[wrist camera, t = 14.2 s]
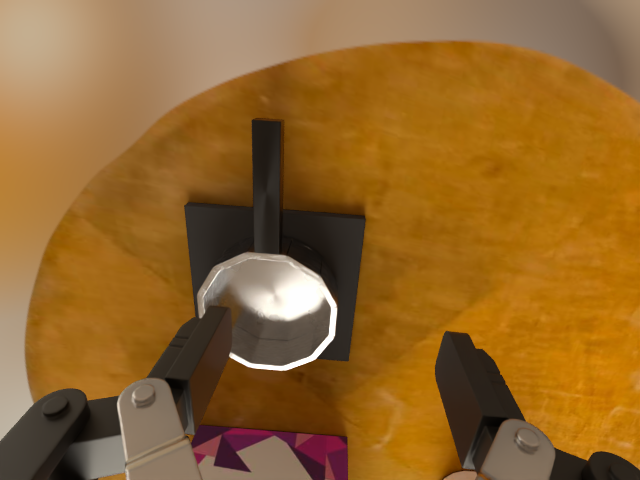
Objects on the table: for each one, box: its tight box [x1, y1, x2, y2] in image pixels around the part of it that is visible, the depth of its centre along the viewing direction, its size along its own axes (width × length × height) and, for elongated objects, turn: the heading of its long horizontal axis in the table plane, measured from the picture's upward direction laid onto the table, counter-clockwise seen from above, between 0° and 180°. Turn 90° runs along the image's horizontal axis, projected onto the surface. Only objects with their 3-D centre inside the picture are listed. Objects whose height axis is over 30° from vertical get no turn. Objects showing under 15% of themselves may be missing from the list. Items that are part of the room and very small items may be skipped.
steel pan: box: [197, 118, 338, 371], centre depth 30 cm, size 22×12×4 cm, turn 177°
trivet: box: [184, 202, 365, 361], centre depth 34 cm, size 16×16×1 cm
